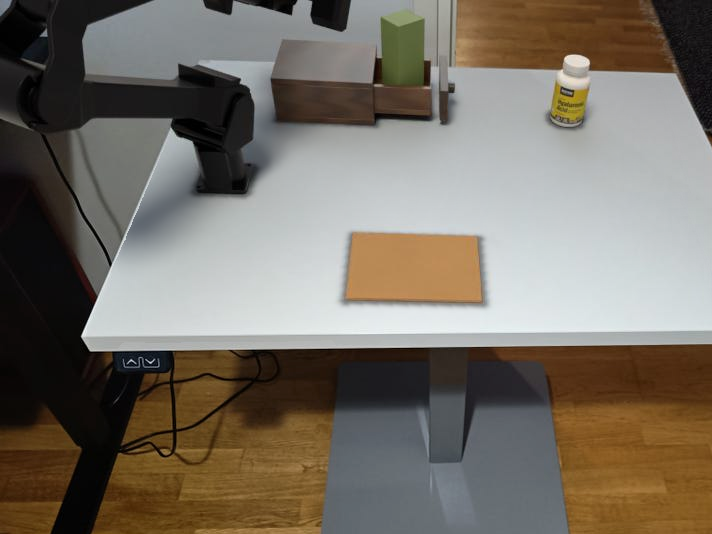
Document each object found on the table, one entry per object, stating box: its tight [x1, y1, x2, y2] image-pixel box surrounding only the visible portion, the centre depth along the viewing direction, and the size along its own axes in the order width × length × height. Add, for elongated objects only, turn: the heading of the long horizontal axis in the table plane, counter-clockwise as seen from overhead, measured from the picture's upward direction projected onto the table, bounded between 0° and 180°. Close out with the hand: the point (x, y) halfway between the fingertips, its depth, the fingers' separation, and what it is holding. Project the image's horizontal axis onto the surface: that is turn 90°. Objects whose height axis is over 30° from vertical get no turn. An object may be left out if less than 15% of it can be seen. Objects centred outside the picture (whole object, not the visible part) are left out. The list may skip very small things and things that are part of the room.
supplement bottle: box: [549, 54, 592, 128], centre depth 106 cm, size 5×5×10 cm
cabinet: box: [269, 38, 378, 126], centre depth 105 cm, size 15×13×7 cm
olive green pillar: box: [380, 8, 426, 86], centre depth 102 cm, size 5×4×12 cm
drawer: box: [373, 54, 456, 122], centre depth 106 cm, size 15×12×5 cm
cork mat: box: [345, 232, 483, 304], centre depth 83 cm, size 12×16×1 cm
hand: (319, 1), depth 97 cm, fingers open, 9 cm apart
